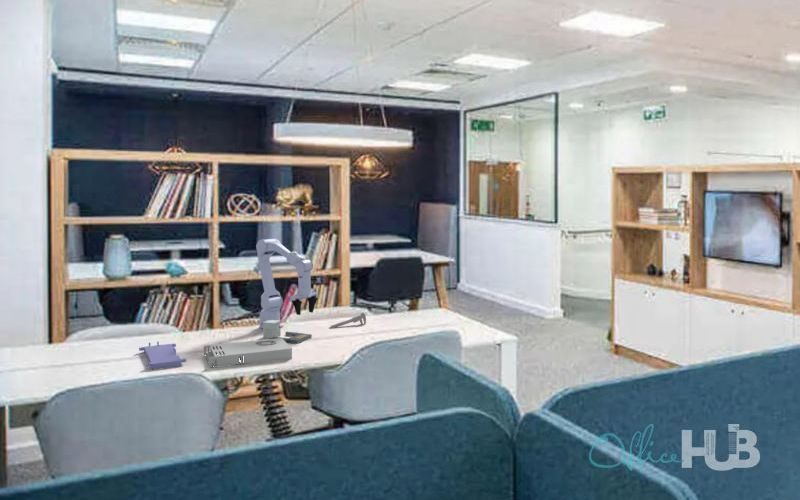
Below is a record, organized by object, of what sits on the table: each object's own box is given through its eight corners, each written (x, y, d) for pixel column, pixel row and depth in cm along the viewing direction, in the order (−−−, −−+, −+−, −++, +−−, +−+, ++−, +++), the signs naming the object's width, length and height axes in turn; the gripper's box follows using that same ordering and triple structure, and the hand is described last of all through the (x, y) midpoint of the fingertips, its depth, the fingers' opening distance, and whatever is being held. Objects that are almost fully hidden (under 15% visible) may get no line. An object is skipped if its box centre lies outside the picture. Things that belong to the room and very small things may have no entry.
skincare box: (274, 338, 298) (274, 323, 297) (262, 337, 300) (262, 322, 299) (280, 335, 304) (280, 320, 303) (269, 334, 305) (268, 319, 305)
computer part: (175, 348, 282) (138, 352, 275) (174, 338, 282) (138, 342, 275) (186, 366, 256) (146, 371, 249) (186, 355, 255) (146, 360, 248)
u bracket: (272, 340, 294) (272, 337, 294) (287, 334, 305) (287, 331, 305) (297, 343, 289) (297, 340, 289) (311, 337, 300) (311, 334, 299)
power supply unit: (203, 357, 269) (203, 345, 269) (281, 349, 282) (281, 337, 282) (209, 369, 252) (209, 357, 252) (292, 360, 265) (292, 348, 265)
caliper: (365, 323, 329) (365, 311, 328) (366, 324, 328) (366, 312, 328) (328, 328, 319) (328, 316, 318) (329, 329, 318) (329, 316, 317)
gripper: (297, 288, 297) (297, 317, 298) (321, 284, 307) (322, 312, 309) (288, 286, 301) (288, 314, 303) (312, 282, 312) (312, 310, 314)
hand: (304, 313), depth 306 cm, fingers open, 7 cm apart
